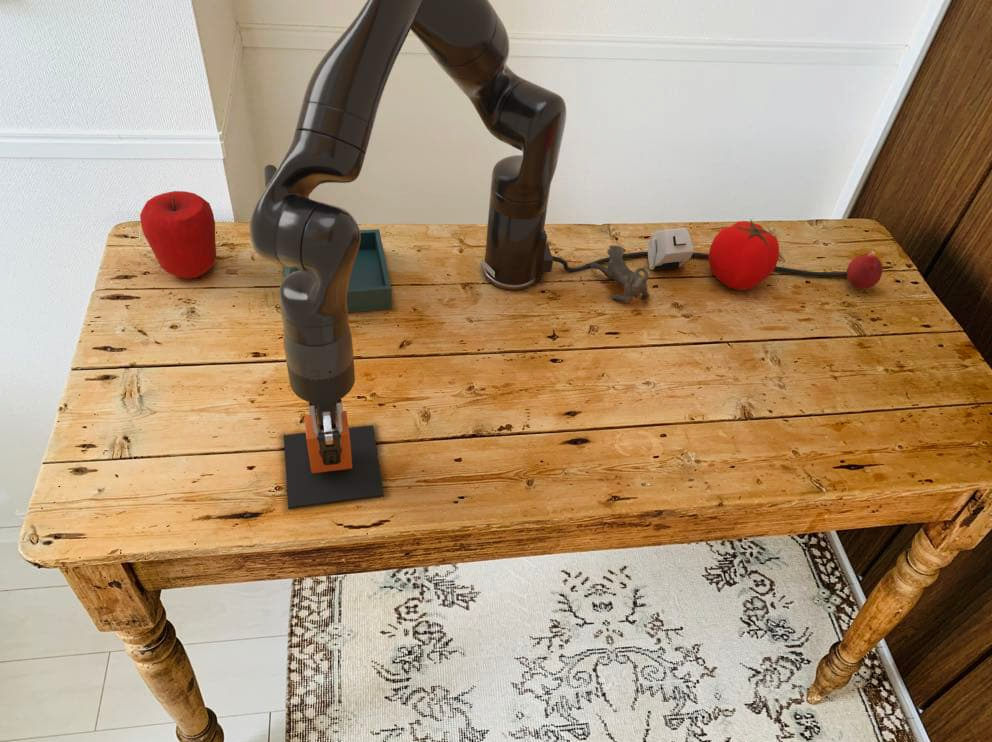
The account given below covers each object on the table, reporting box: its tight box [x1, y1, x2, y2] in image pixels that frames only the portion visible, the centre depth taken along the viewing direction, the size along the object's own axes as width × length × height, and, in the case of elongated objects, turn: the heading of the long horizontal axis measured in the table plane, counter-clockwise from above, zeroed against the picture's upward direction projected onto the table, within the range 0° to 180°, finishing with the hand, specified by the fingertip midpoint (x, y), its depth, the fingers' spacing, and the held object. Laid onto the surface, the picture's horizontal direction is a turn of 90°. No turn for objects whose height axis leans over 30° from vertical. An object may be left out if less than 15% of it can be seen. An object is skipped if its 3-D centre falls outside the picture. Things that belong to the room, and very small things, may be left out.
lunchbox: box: [295, 228, 393, 314], centre depth 131 cm, size 16×16×4 cm
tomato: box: [708, 218, 780, 291], centre depth 140 cm, size 12×12×11 cm
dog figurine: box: [590, 244, 650, 304], centre depth 136 cm, size 12×6×7 cm, turn 29°
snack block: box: [304, 410, 352, 473], centre depth 104 cm, size 5×4×7 cm
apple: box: [139, 190, 217, 280], centre depth 126 cm, size 10×10×14 cm
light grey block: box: [647, 227, 695, 271], centre depth 141 cm, size 6×7×10 cm
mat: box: [283, 424, 385, 509], centre depth 107 cm, size 12×12×1 cm
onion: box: [846, 250, 884, 290], centre depth 143 cm, size 6×6×8 cm
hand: (330, 448), depth 105 cm, fingers closed on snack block, 4 cm apart
